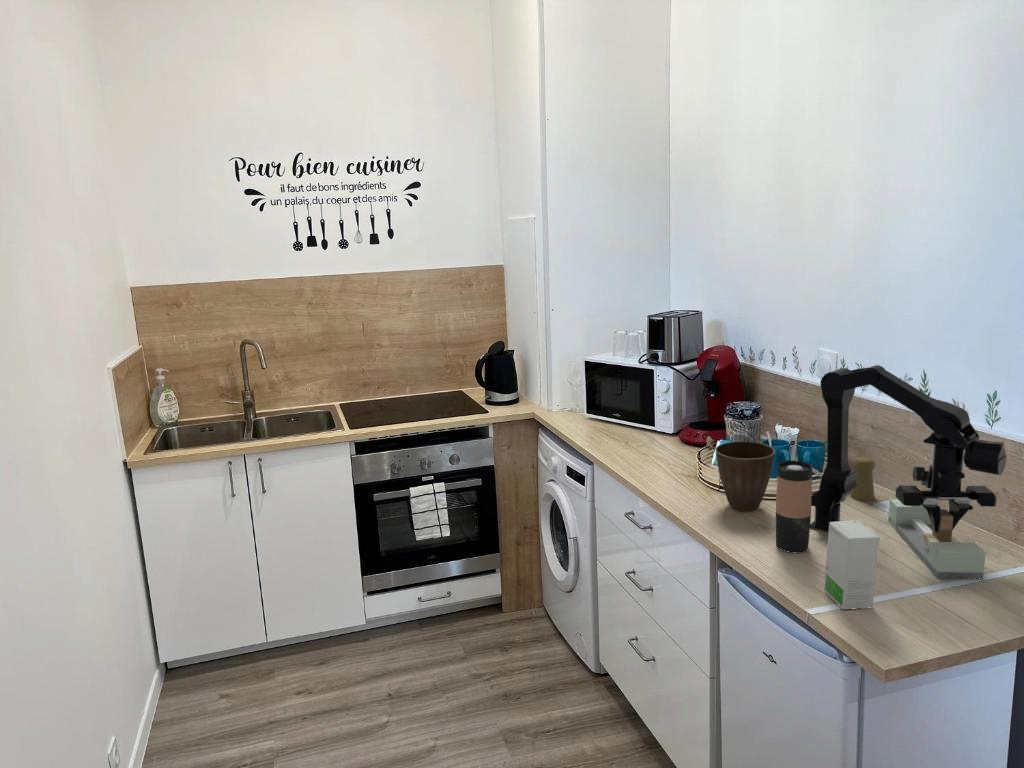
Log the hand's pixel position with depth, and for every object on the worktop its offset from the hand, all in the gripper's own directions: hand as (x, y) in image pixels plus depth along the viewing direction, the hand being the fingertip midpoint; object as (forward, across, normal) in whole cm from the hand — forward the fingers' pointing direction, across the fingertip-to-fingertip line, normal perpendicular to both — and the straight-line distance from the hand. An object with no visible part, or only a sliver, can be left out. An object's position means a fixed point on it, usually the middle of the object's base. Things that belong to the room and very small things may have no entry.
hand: (942, 532), depth 168 cm
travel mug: (+6, +31, -4) cm, 32 cm away
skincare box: (+6, +25, +21) cm, 33 cm away
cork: (+6, +6, -37) cm, 38 cm away
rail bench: (+6, 0, -5) cm, 8 cm away
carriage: (+3, 0, 0) cm, 3 cm away
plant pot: (+6, +38, -29) cm, 48 cm away
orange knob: (0, 0, -17) cm, 17 cm away
